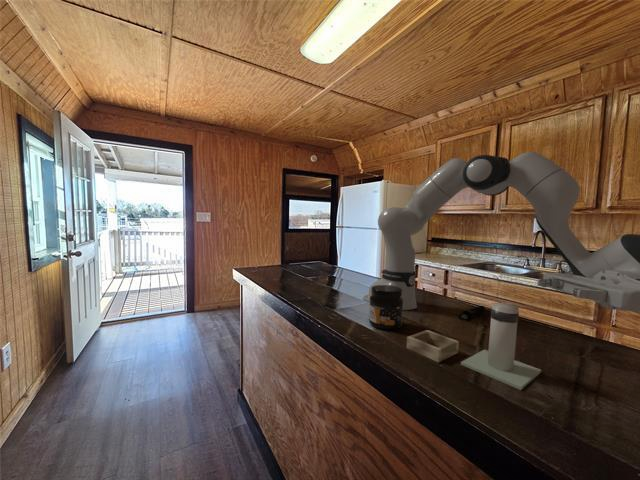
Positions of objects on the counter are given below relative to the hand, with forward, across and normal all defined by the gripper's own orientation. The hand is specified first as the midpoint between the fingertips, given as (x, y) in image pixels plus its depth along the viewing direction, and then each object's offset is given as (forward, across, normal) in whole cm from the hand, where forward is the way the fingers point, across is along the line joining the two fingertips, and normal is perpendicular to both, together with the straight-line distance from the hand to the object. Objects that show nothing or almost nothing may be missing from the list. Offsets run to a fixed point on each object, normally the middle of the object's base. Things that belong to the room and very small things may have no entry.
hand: (556, 287), depth 63 cm
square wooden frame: (+24, -8, +20) cm, 32 cm away
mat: (+12, 0, +19) cm, 22 cm away
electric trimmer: (-3, -37, +20) cm, 42 cm away
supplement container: (+31, -26, +20) cm, 45 cm away
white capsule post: (+12, 0, +18) cm, 22 cm away
